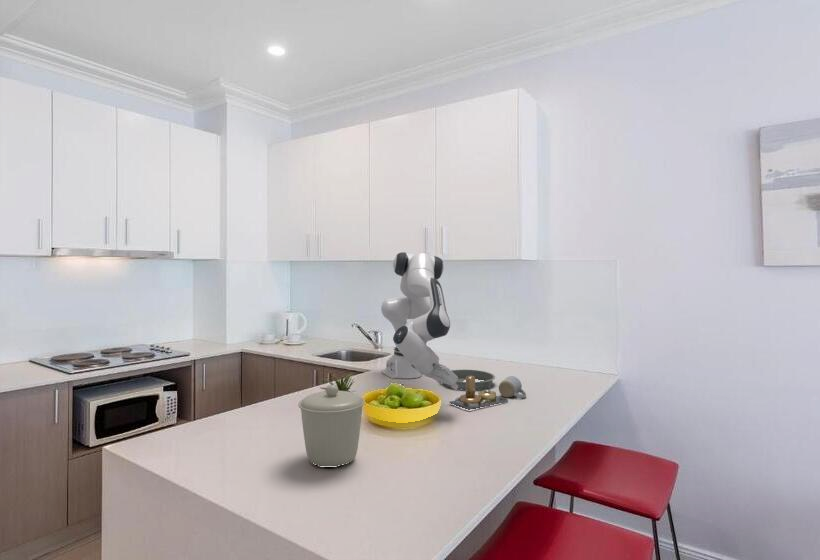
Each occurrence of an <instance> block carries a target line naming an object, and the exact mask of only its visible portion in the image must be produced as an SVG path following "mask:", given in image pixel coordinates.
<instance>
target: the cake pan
mask: <svg viewBox="0 0 820 560" xmlns="http://www.w3.org/2000/svg"><path fill="white" fill-rule="evenodd" d="M450 370H451V371H452V372H453V373H454V374H455V375H456V376H457V377H458V381H457V382H456V384H457V385H458V388H457V390H458V389H462V390H461V391H466V382H463V381H464V380H466V376H475V379H478V380H484V381H480V382H475V391H480V390H479V389H483V390H486V389H485V388H487V389H489V387H490V386H491V387H492V384H493V382H494V380H495V379H496V376H495V375H494V374H493V373H491V372H487V371H484V370H478V369H453V370H452V369H450ZM444 386H446V387H447V386H448V387H447V388H449V387H451V385H448V384H446V383H444ZM491 387H490V388H491ZM450 389H453V388H452V387H451V388H450Z"/></svg>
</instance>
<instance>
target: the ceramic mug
mask: <svg viewBox="0 0 820 560" xmlns="http://www.w3.org/2000/svg"><path fill="white" fill-rule="evenodd" d="M522 384H523V383H522V382H521V381H520V379H519V378H518V377H516V376H513V375H509V376H506V378H505V379H502V381H500V383H499V385H498V392H499V393H500V395H501V396H502V397H503V398H507V397H508V398H512V397H516V398H518V399H520V400H521V399H522V398H524V399H526V397H527V393H526V391H525V390H523V389H522V387H523V386H522ZM520 393H521V394H520ZM522 400H523V399H522Z"/></svg>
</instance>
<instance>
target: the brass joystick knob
mask: <svg viewBox="0 0 820 560" xmlns="http://www.w3.org/2000/svg"><path fill="white" fill-rule="evenodd" d="M459 397H460V401H461V402H463V403H465V405H469V403H478V404H480V403H481V397H480V396H478V394H476V390H475V376H466V390H465V394H462V395H460V396H459Z"/></svg>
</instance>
